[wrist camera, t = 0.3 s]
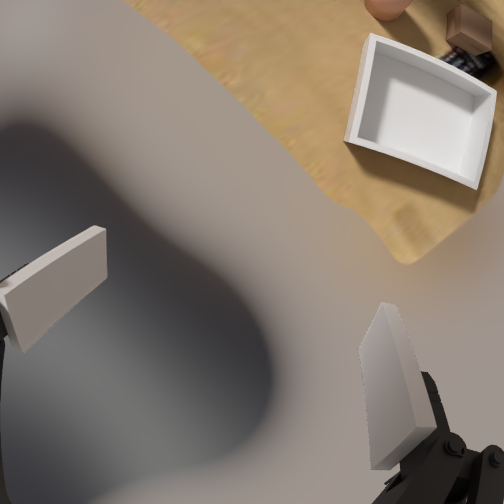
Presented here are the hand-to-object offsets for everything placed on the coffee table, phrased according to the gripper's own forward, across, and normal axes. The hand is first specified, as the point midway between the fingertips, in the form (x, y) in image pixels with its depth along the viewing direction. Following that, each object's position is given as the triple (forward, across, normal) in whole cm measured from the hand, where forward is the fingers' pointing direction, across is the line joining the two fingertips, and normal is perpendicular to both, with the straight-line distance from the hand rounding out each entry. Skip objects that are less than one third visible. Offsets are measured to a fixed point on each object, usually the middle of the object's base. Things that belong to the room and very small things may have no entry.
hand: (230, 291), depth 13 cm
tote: (+27, +15, +14) cm, 34 cm away
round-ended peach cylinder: (+27, +8, +28) cm, 40 cm away
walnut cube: (+27, +20, +29) cm, 45 cm away
